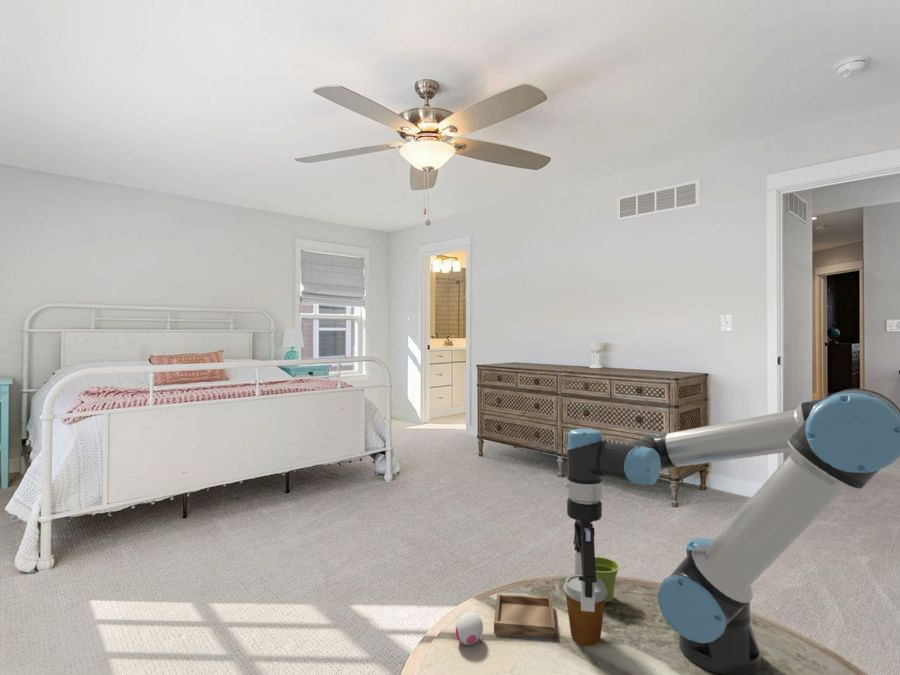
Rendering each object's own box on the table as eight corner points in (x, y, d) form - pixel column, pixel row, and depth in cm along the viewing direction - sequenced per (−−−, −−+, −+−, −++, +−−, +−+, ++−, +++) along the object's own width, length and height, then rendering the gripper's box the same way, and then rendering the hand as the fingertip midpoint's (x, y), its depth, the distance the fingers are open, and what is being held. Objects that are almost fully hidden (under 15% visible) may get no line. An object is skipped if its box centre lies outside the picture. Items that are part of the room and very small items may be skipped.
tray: (551, 606, 125) (551, 597, 125) (555, 637, 111) (555, 627, 111) (497, 602, 127) (497, 593, 127) (493, 632, 113) (493, 622, 113)
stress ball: (463, 646, 114) (447, 619, 115) (492, 628, 113) (475, 601, 114) (457, 665, 106) (440, 637, 107) (488, 646, 105) (471, 618, 106)
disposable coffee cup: (610, 653, 105) (609, 595, 106) (564, 647, 107) (563, 591, 108) (605, 628, 115) (605, 575, 115) (563, 624, 117) (562, 572, 117)
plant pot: (579, 602, 126) (578, 568, 127) (584, 586, 135) (584, 554, 135) (618, 610, 123) (617, 574, 123) (620, 593, 132) (620, 559, 132)
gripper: (562, 483, 125) (562, 568, 124) (572, 517, 100) (572, 623, 100) (593, 484, 124) (593, 570, 123) (611, 519, 99) (611, 627, 99)
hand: (583, 594), depth 112 cm, fingers open, 13 cm apart
